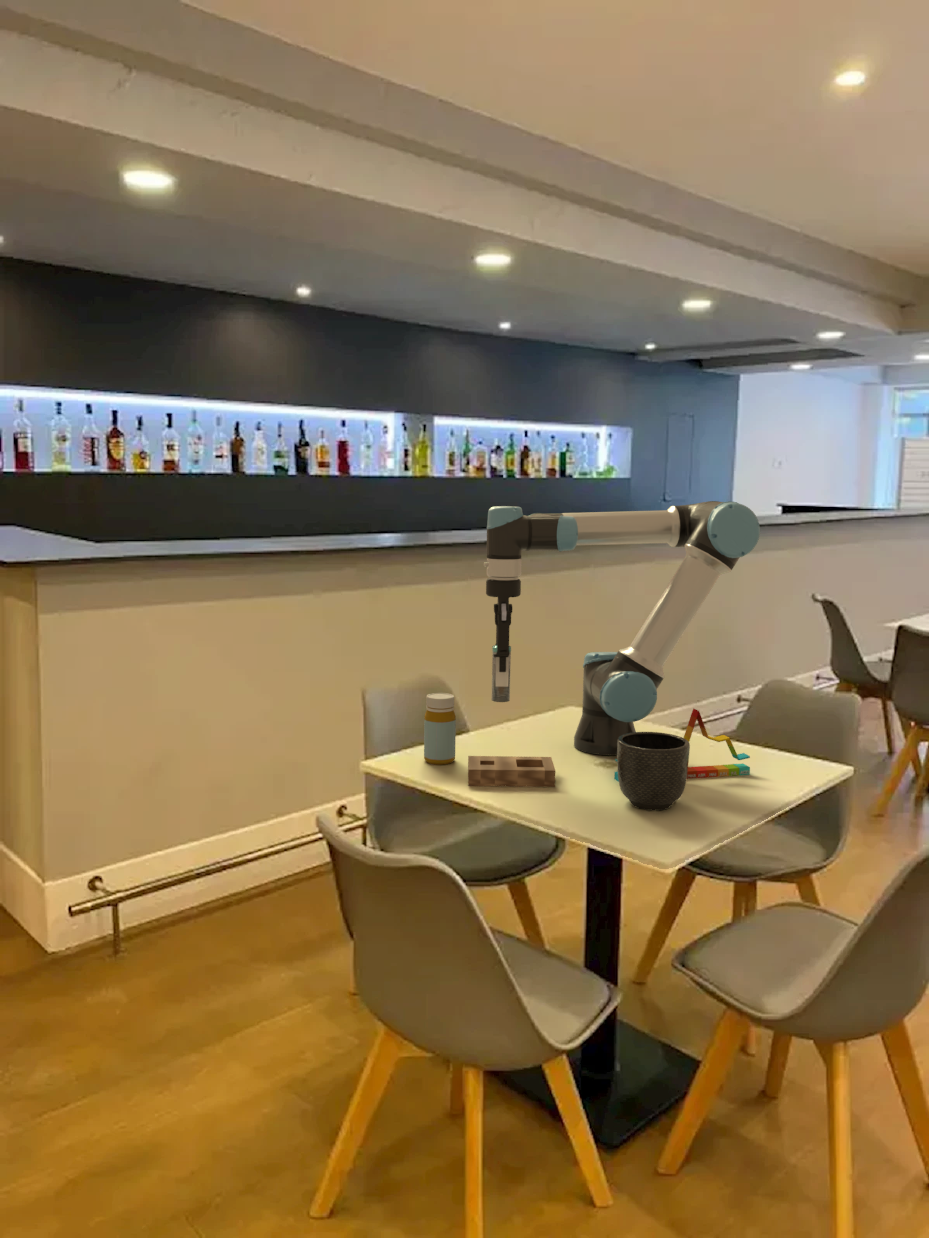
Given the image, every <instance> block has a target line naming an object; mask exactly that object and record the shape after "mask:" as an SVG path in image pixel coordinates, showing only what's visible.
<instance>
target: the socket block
mask: <svg viewBox="0 0 929 1238" xmlns="http://www.w3.org/2000/svg"><path fill="white" fill-rule="evenodd" d="M555 768H556V767H555V764H554V761H553V758H552V756H507V755H506V756H504V755H503V756H501V755H498V756H497V755H492V756H491V755H468V759H467V779H468V781H467V782H468V784H467V786H468V787H527V788H528V787H529V788H530V787H531V788H533V787H535V788H556V769H555Z"/></svg>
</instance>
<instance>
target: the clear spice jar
mask: <svg viewBox="0 0 929 1238" xmlns="http://www.w3.org/2000/svg"><path fill="white" fill-rule="evenodd" d="M491 649H492V656H491V657H492V659H491V660H492V663H491V701H492V702H493V703H508V702H510V699H511V661H512V660H511V659H512V657H511V655H512V654H511V653H512V646H511V645H509V652H510V654H509V656H508V657H509V676H508V687H501V686H496V657H494V654H496V653H497V645H492V648H491Z"/></svg>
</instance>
